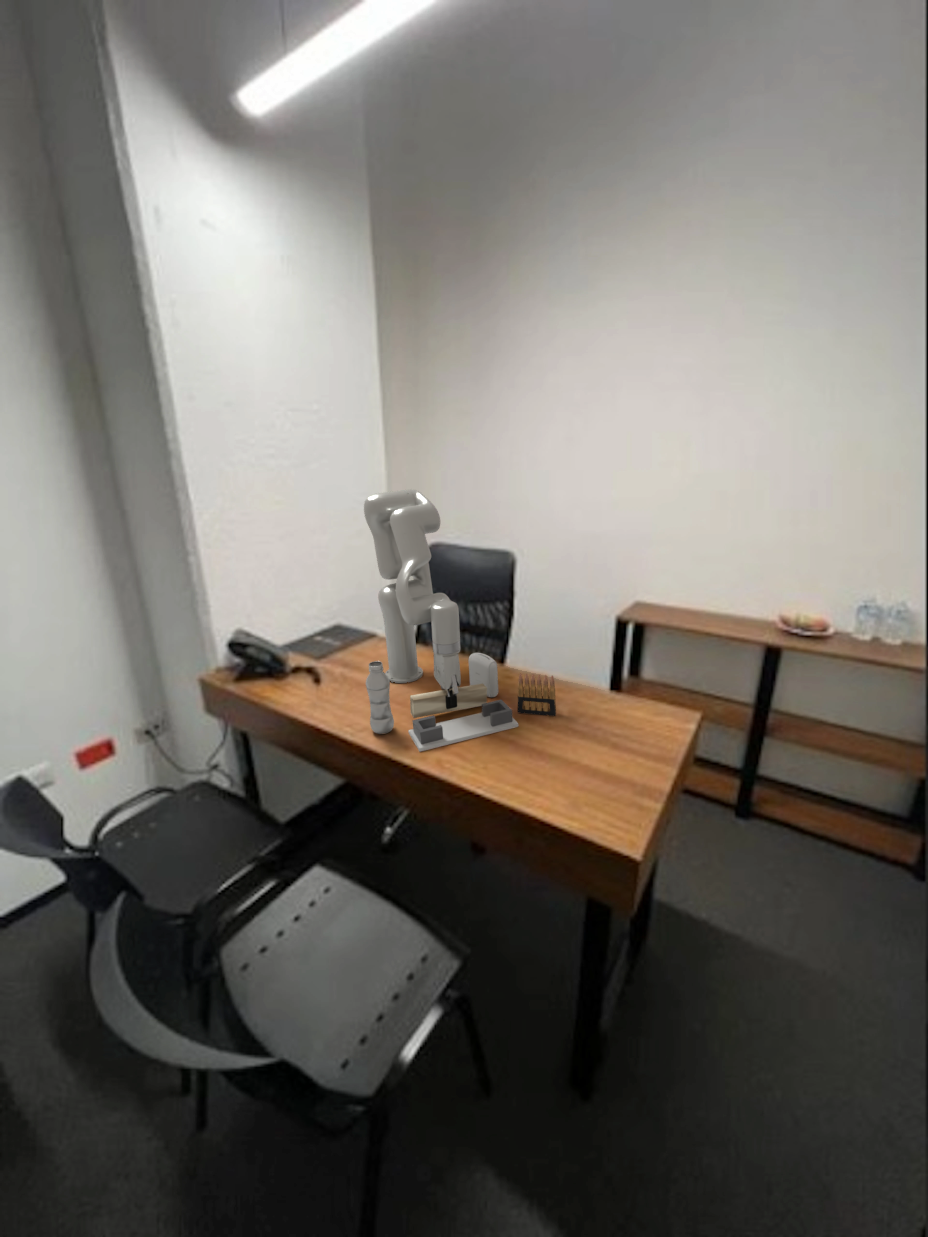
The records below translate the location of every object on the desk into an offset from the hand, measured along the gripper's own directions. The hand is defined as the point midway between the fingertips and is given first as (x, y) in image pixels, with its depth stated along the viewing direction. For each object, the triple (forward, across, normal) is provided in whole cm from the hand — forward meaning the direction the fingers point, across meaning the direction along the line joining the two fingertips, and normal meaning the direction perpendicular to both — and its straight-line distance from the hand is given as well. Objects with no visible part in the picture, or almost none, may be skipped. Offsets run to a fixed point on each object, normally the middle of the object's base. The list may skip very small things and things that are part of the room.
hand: (449, 704), depth 161 cm
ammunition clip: (+3, +11, +22) cm, 25 cm away
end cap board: (+3, +10, 0) cm, 11 cm away
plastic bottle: (+3, +1, -20) cm, 20 cm away
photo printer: (+3, -8, +14) cm, 17 cm away
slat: (+1, 0, 0) cm, 1 cm away
